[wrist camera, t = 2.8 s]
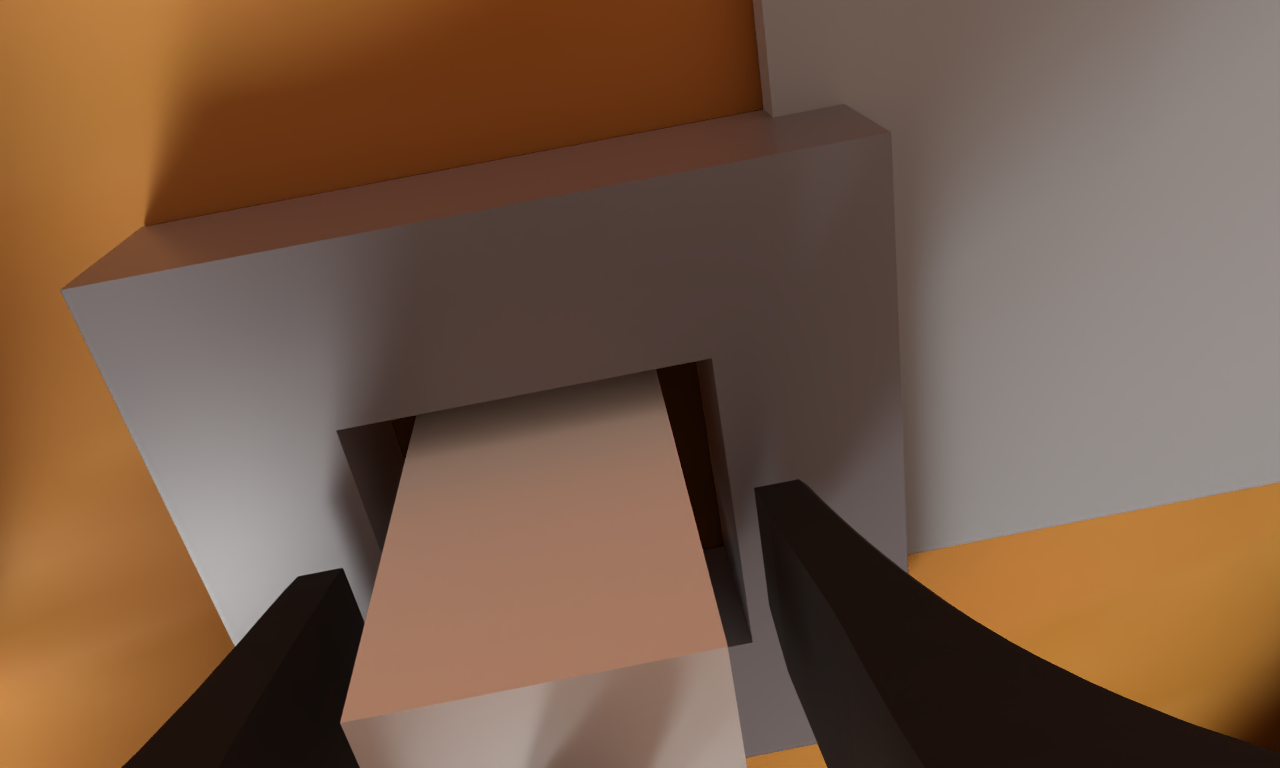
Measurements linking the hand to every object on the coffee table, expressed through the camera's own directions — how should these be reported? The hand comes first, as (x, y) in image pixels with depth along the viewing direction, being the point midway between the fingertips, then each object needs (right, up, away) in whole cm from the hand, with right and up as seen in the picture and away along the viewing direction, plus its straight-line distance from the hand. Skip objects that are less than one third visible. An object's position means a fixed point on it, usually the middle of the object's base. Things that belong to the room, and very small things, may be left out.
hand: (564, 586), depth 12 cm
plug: (0, +2, +3) cm, 3 cm away
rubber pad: (+8, +5, +2) cm, 10 cm away
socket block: (0, +1, +3) cm, 3 cm away
